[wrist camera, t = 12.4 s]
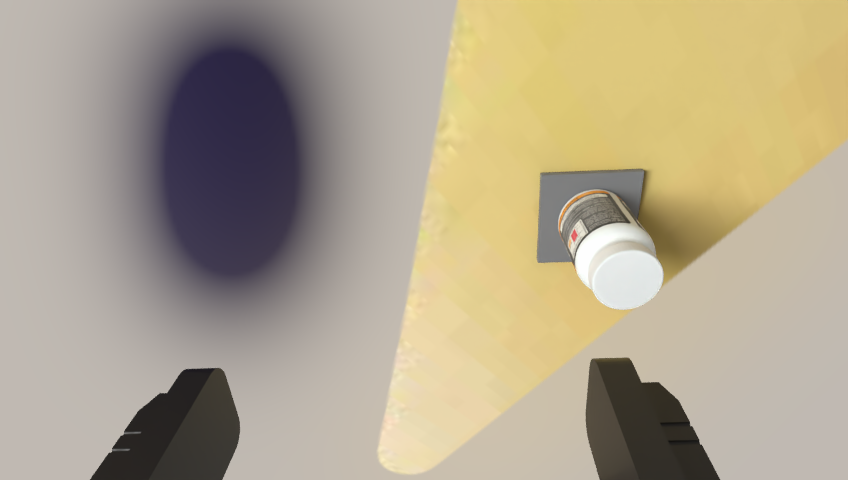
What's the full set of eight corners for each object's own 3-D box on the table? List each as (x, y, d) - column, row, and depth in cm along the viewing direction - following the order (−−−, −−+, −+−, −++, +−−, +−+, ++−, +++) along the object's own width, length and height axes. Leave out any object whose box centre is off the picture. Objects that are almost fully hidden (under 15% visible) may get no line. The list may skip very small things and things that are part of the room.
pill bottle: (547, 241, 45) (571, 307, 36) (570, 179, 43) (602, 234, 34) (611, 255, 46) (650, 324, 37) (638, 194, 43) (687, 253, 34)
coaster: (540, 172, 43) (541, 175, 43) (642, 168, 43) (644, 171, 42) (536, 259, 47) (537, 262, 46) (630, 256, 46) (632, 259, 46)
